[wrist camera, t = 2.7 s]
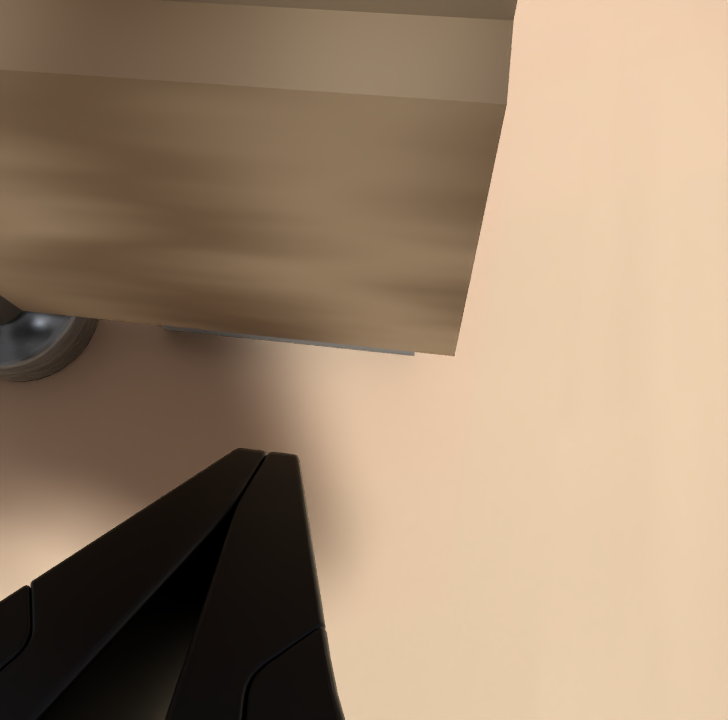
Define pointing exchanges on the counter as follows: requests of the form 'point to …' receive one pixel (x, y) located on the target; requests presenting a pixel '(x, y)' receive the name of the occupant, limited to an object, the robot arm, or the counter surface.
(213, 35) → the brown wooden block
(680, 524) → the counter surface
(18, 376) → the pivot foot
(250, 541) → the robot arm
